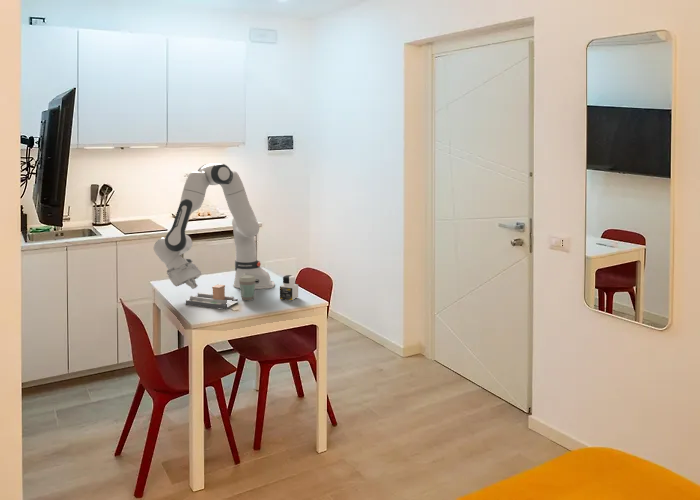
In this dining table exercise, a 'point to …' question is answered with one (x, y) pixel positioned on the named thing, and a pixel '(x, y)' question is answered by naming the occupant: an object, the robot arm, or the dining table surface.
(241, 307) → the dining table surface
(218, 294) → the switch tab
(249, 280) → the coffee cup
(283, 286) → the medicine bottle
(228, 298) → the switch board
